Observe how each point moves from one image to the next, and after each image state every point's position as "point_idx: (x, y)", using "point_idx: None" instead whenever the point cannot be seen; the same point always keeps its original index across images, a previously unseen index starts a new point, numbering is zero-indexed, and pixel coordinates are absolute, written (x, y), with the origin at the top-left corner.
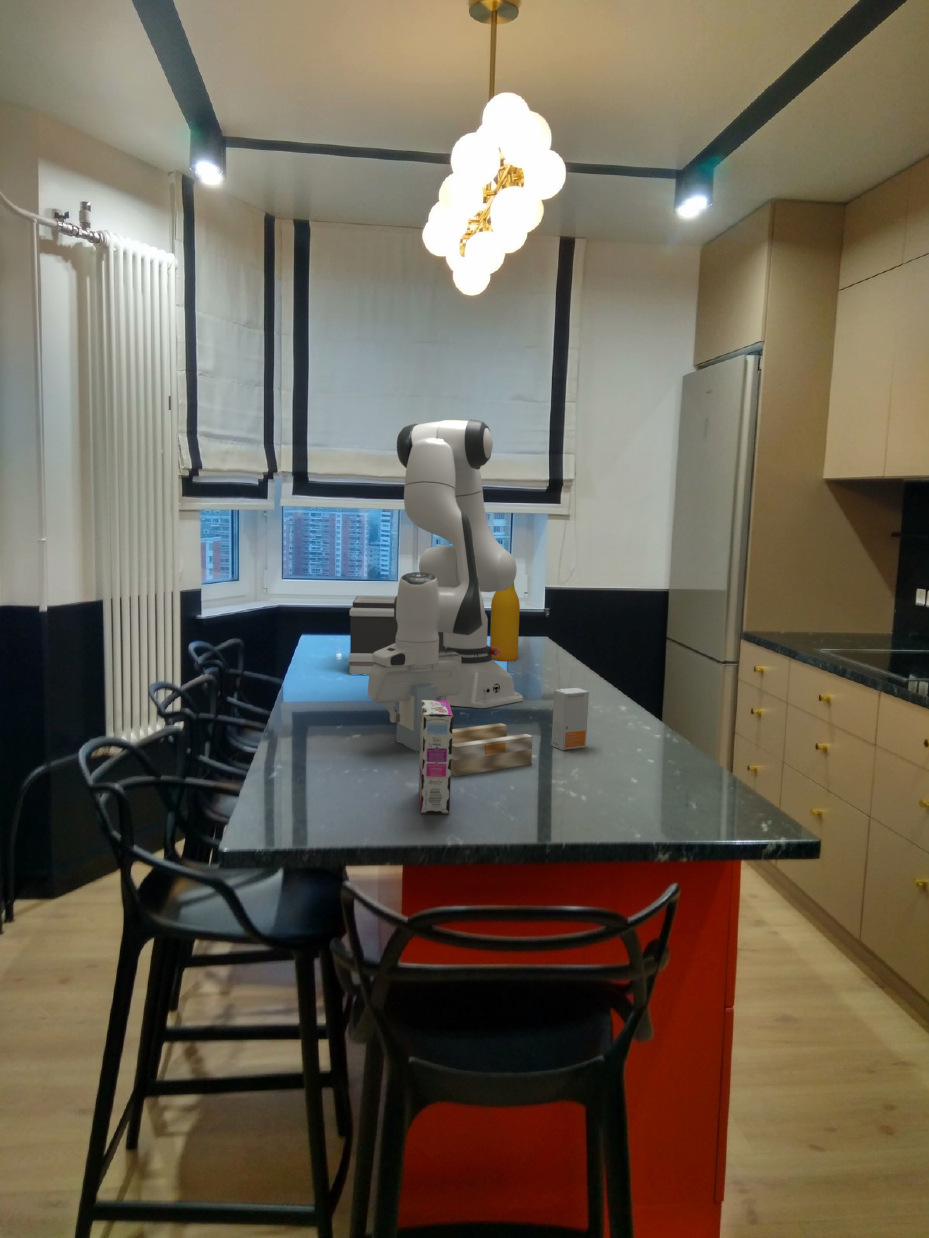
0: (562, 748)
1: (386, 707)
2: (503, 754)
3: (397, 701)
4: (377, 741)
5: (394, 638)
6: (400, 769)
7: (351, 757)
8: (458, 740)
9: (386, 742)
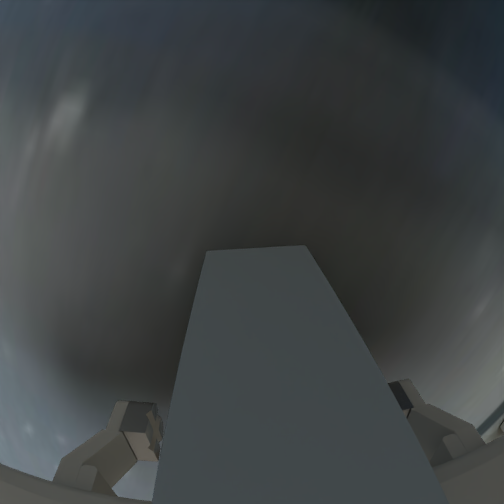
0: (501, 429)
1: (75, 450)
2: None
3: (177, 383)
4: (121, 233)
5: None
6: (137, 469)
7: (26, 363)
8: None
9: (153, 262)
